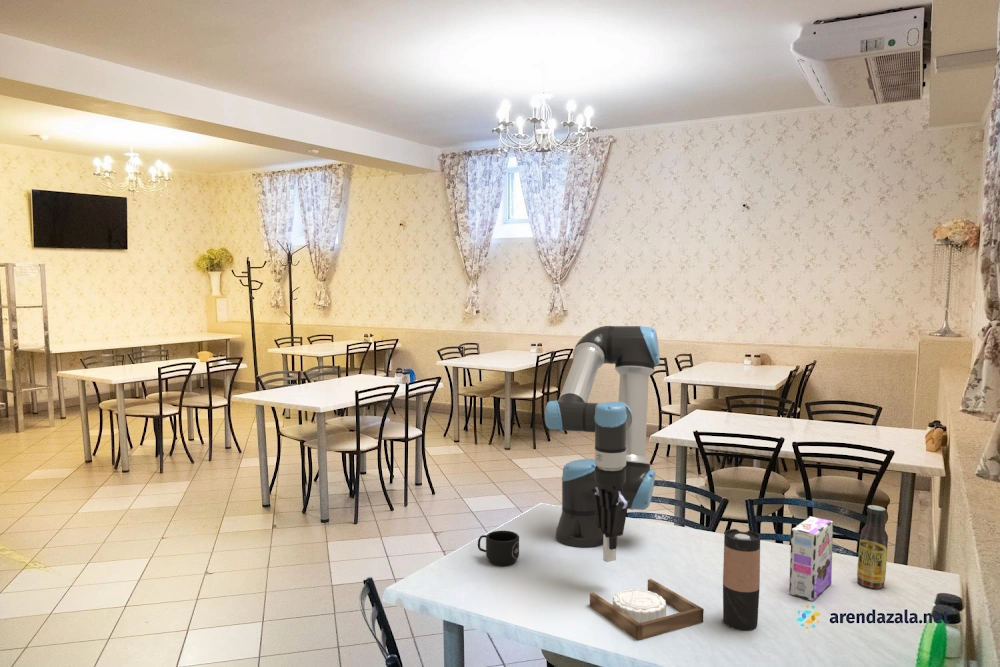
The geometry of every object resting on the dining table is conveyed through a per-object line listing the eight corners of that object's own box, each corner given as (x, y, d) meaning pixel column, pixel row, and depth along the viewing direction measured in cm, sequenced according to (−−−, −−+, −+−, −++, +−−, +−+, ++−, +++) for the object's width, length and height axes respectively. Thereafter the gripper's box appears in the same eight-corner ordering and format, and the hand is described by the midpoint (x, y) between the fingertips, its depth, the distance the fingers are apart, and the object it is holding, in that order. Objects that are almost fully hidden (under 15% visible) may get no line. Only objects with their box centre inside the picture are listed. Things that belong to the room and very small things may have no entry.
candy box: (813, 602, 163) (815, 534, 162) (788, 594, 167) (790, 528, 166) (832, 584, 173) (834, 520, 172) (807, 577, 177) (809, 514, 176)
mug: (524, 558, 189) (524, 533, 189) (511, 570, 181) (511, 543, 180) (484, 551, 194) (485, 526, 194) (470, 562, 186) (470, 537, 185)
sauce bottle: (853, 584, 172) (856, 507, 171) (860, 577, 177) (863, 501, 176) (882, 592, 168) (885, 512, 167) (889, 584, 172) (892, 507, 171)
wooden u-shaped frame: (589, 605, 160) (589, 593, 160) (650, 590, 168) (650, 578, 168) (638, 640, 144) (638, 626, 144) (703, 622, 152) (703, 608, 152)
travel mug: (739, 634, 147) (741, 542, 146) (714, 618, 154) (716, 531, 153) (766, 627, 150) (768, 537, 149) (741, 612, 157) (743, 526, 156)
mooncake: (664, 629, 150) (664, 613, 150) (609, 621, 153) (609, 605, 153) (667, 605, 161) (668, 590, 161) (616, 598, 165) (616, 583, 165)
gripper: (582, 462, 171) (582, 553, 173) (613, 475, 160) (612, 573, 162) (607, 458, 175) (606, 547, 177) (639, 471, 163) (638, 567, 165)
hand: (609, 560), depth 169 cm, fingers closed
